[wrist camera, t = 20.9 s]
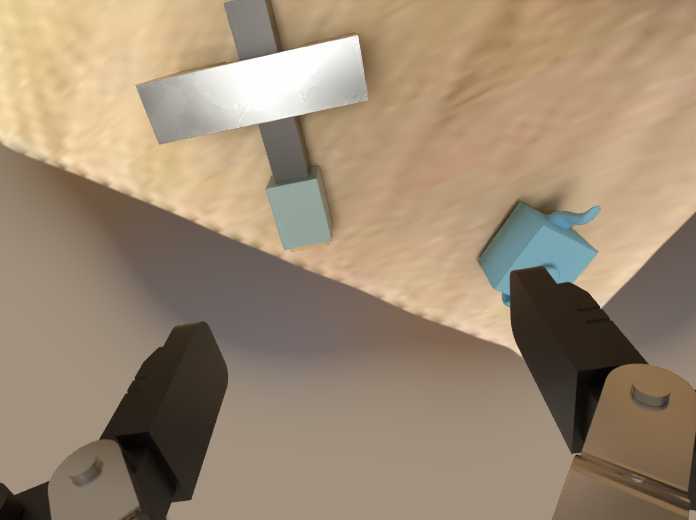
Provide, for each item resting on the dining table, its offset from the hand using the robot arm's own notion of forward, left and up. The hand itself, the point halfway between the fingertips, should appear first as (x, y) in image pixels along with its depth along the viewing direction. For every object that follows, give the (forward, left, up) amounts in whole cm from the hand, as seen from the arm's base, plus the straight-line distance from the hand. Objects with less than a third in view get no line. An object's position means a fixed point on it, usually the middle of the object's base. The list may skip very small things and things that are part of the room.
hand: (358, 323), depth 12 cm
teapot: (-15, +15, -31) cm, 38 cm away
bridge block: (+6, -4, -31) cm, 32 cm away
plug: (+6, 0, -31) cm, 32 cm away
